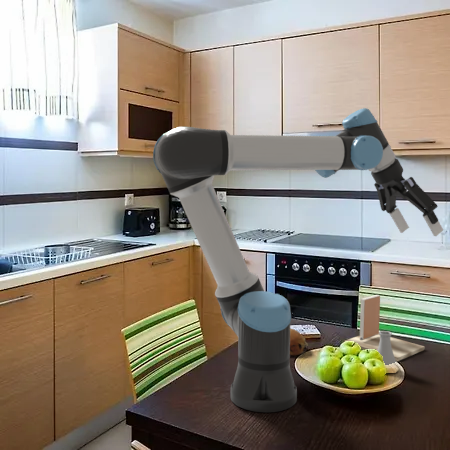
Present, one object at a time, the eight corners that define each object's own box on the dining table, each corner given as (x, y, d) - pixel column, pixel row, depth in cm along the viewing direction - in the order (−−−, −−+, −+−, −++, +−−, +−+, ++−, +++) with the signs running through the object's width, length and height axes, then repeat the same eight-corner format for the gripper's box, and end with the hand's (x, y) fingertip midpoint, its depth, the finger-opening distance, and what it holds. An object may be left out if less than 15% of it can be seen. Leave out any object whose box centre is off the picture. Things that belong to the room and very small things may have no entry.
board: (397, 361, 140) (397, 357, 140) (343, 344, 154) (343, 340, 154) (424, 349, 149) (424, 346, 149) (371, 334, 163) (371, 331, 163)
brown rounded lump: (292, 355, 155) (284, 329, 157) (317, 349, 148) (308, 321, 150) (269, 362, 149) (261, 335, 151) (293, 357, 141) (285, 328, 143)
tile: (363, 341, 152) (364, 299, 151) (359, 339, 153) (360, 299, 152) (379, 335, 157) (380, 295, 156) (375, 334, 158) (376, 294, 157)
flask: (395, 365, 138) (396, 328, 137) (401, 375, 131) (403, 337, 129) (367, 364, 138) (368, 327, 137) (372, 374, 131) (373, 336, 130)
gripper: (425, 152, 122) (465, 225, 126) (366, 160, 146) (401, 221, 150) (403, 170, 120) (444, 243, 125) (347, 175, 144) (383, 236, 149)
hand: (421, 231), depth 138 cm, fingers open, 13 cm apart
